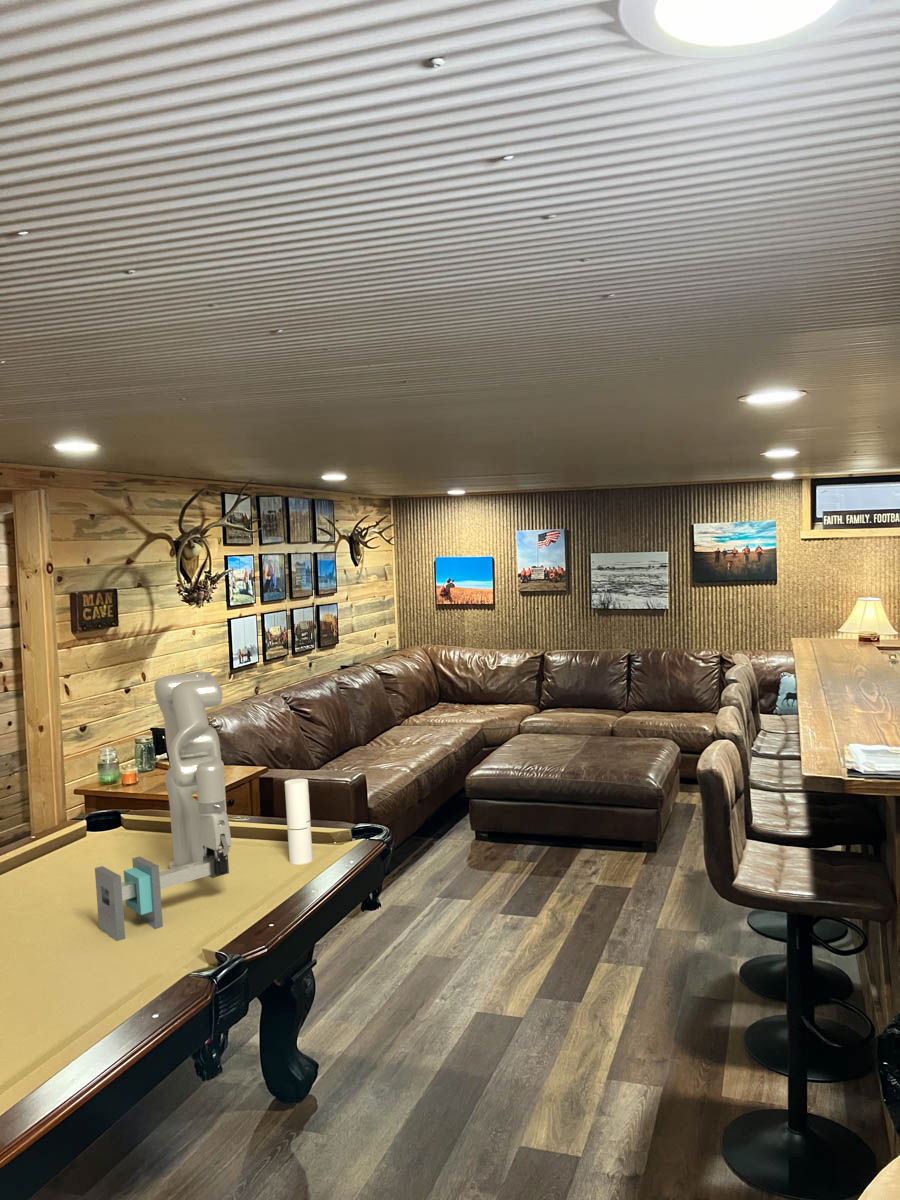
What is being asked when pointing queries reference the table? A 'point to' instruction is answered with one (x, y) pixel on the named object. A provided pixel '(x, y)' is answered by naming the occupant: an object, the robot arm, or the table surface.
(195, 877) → the shaft
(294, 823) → the cylindrical container
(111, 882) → the pair of grey plates
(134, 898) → the spacer
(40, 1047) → the table surface
